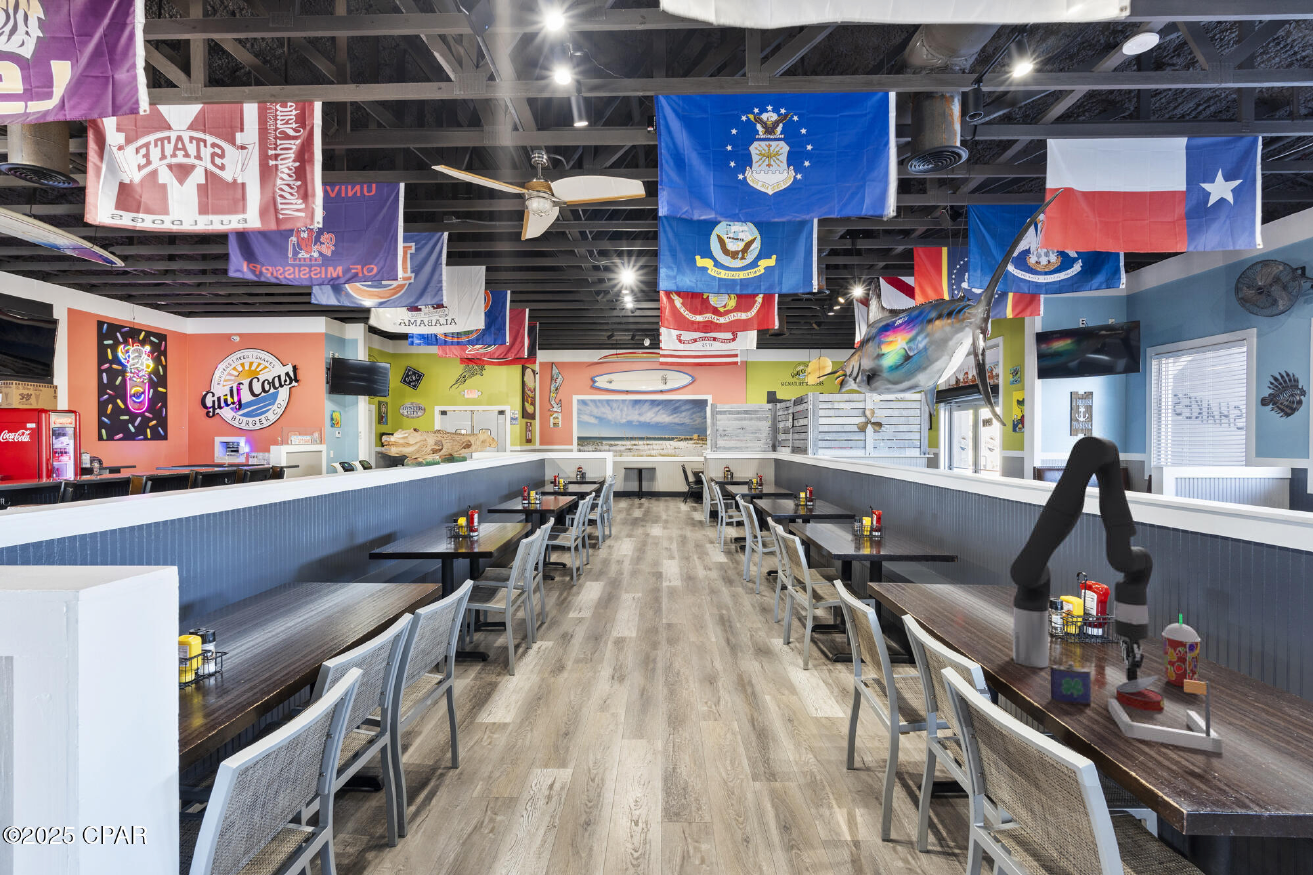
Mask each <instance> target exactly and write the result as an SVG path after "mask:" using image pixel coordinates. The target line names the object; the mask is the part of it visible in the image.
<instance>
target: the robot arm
mask: <svg viewBox="0 0 1313 875" xmlns="http://www.w3.org/2000/svg"><path fill="white" fill-rule="evenodd" d="M1121 469H1122V468H1121V458H1120V452H1119V447H1118V446H1117V444H1116V443H1115V442H1114V441H1113V440H1111V439H1109V438H1106V437H1101V436H1096V435H1086V436H1084V437H1081V438H1079V439H1078V440H1077V441H1076V442H1075V443H1074V445H1073V446H1072V448H1071V451H1070V453H1069V455H1068V458H1067V461H1066V463H1065V466H1064V469H1063V472H1062V473H1061V476H1060V477H1059V479H1058V480H1057V483H1056V485H1055V487H1054V488H1053V490H1052V492H1051V494H1050V496H1049V497H1048V499H1047V501H1046V503H1045V504H1044V506H1043V508H1042V510H1041V512H1040V514H1039V516H1038V519H1037V520H1036V522H1035V525H1034V527H1033V529H1032V531H1031V533H1030V535H1029V538H1028V540H1027V542H1026V543H1025V545H1024V546H1023V548H1022V549H1021V551H1020V553H1019V554H1018V556H1016V558H1015V560H1014V561H1013V562H1012V563H1011V566H1010V570H1009V575H1010V578H1011V580H1012V582H1013V583H1014V584H1015V585H1016V586H1017V590H1016V593H1015V595H1014V597H1013V628H1012V658H1013V661H1014V663H1015V664H1019V665H1022V666H1026V667H1030V668H1032V667H1033V668H1041V669H1042V668H1047V667H1049V603H1050V600H1051V570H1050V567H1049V565H1048V563H1049V561H1050V559H1051V557H1052V556H1053V554H1054V552H1055V551H1056V550H1057V549H1058V548H1059V547H1060V545H1062V543H1063V542H1064V541H1065V540H1066V539H1067V538H1068V536H1069V535H1070V534H1071V533H1072V531H1073V530H1074V528H1075V527H1076V525H1077V522H1078V521H1079V519H1080V517H1081V516H1082V514H1083V511H1084V507H1085V500H1086V499H1085V498H1086V491H1087V488H1088V485H1089V483H1090V481H1091V479H1092V478H1093V476H1095V478H1096V482H1097V486H1098V508H1099V515H1100V518H1101V521H1102V525H1103V528H1104V530H1105V531H1104V532H1105V533H1106V534H1105V536H1106V537H1105V554H1106V560H1107V562H1108V564H1109V565H1110V567H1111V568H1112V569H1113V570H1114V571H1116V572H1118V573H1121V574H1123V577H1122V578H1121V579H1119V580H1117V581H1116V582H1115V583H1114V604H1113V633H1114V634H1115V635H1117V636H1119V637H1122V639H1120V641H1119V642H1118V643H1119V647H1120V653H1121V658H1122V659H1121V660H1122V661H1123V662H1124V667H1125V678H1126V681H1127V682H1129V681H1132V680H1137V679H1138V670H1141V668H1142V665H1143V663H1144V662H1143V661H1144V659H1145V655H1144V654H1143V653H1142V652H1143V645H1142V644H1141V640H1147V639H1149V638H1150V636H1149V634H1150V632H1149V612H1148V611H1149V610H1148V605H1147V603H1148V594H1147V592H1148V591H1147V588H1148V585H1149V584H1150V580H1151V577H1152V572H1153V567H1154V564H1153V563H1154V562H1153V557H1152V556H1151V554H1150V553H1149V551H1148V550H1146V549H1145V548H1143V547H1140V546H1131V538H1133V537H1135V536H1136V535H1137V526H1136V523H1135V521H1134V518H1133V515H1132V511H1131V508H1130V506H1129V502H1128V500H1127V495H1126V490H1125V485H1124V480H1123V475H1122V470H1121Z"/></svg>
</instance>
